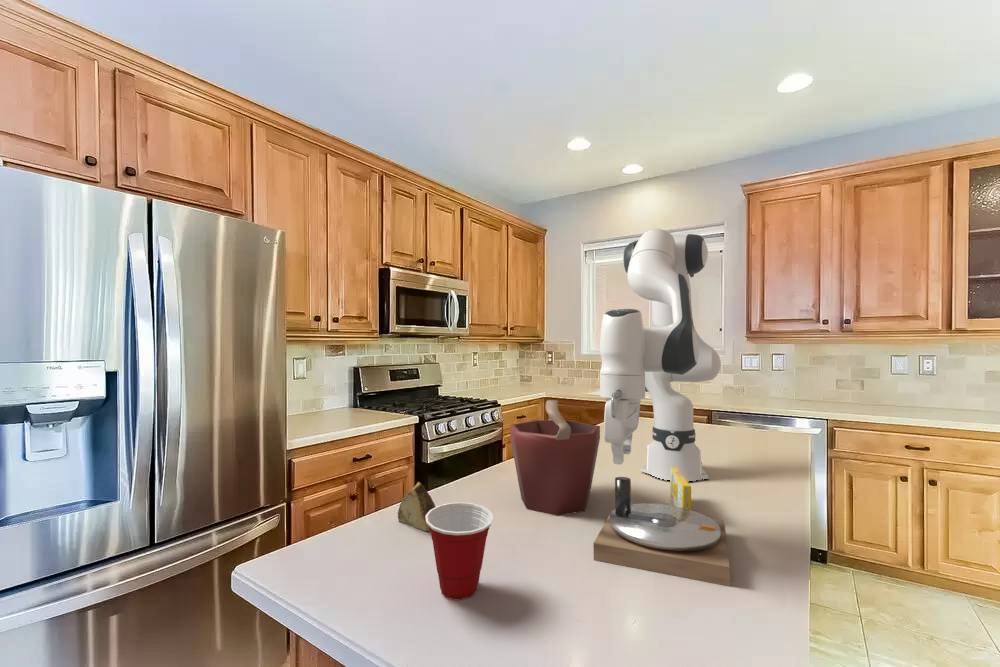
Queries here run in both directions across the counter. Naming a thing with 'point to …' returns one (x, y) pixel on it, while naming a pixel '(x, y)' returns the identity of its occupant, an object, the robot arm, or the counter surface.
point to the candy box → (679, 490)
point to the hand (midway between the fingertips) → (622, 458)
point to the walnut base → (666, 556)
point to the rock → (416, 507)
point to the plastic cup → (459, 545)
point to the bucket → (555, 462)
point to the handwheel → (660, 523)
